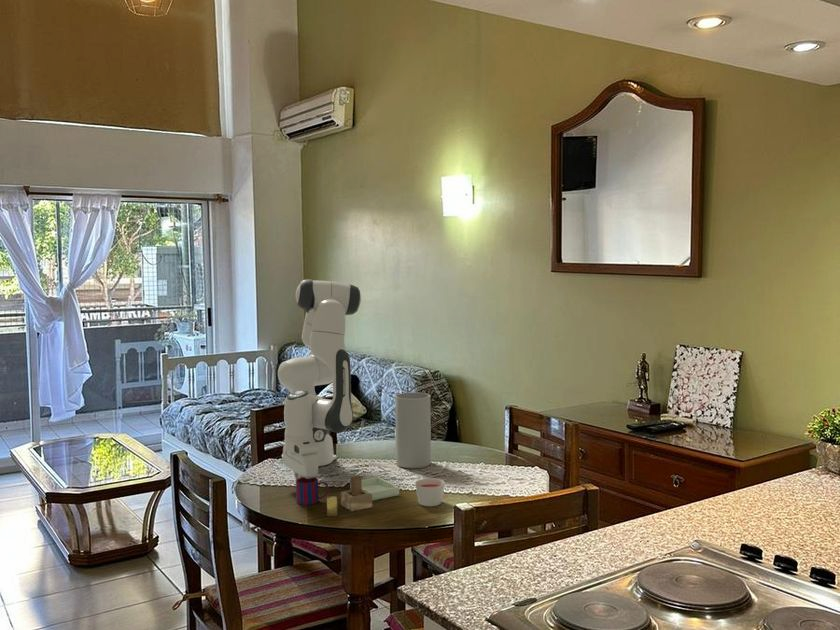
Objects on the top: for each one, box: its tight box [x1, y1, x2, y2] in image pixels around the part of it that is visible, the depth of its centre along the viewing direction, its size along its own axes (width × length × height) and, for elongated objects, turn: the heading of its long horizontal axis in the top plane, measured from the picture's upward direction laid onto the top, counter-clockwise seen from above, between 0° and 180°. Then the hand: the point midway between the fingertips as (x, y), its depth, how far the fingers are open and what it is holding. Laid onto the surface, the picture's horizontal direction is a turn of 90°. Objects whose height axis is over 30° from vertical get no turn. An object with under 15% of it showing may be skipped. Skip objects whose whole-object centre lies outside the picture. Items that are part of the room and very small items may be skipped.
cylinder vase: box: [394, 391, 432, 470], centre depth 276 cm, size 12×12×25 cm
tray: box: [349, 476, 400, 501], centre depth 245 cm, size 13×10×2 cm
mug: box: [295, 477, 329, 506], centre depth 236 cm, size 7×10×7 cm
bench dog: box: [326, 496, 338, 517], centre depth 225 cm, size 3×3×5 cm
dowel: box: [350, 474, 362, 496], centre depth 232 cm, size 3×3×9 cm
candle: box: [414, 477, 446, 507], centre depth 234 cm, size 9×9×6 cm
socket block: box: [340, 489, 373, 512], centre depth 232 cm, size 7×7×4 cm
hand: (300, 485), depth 244 cm, fingers closed
